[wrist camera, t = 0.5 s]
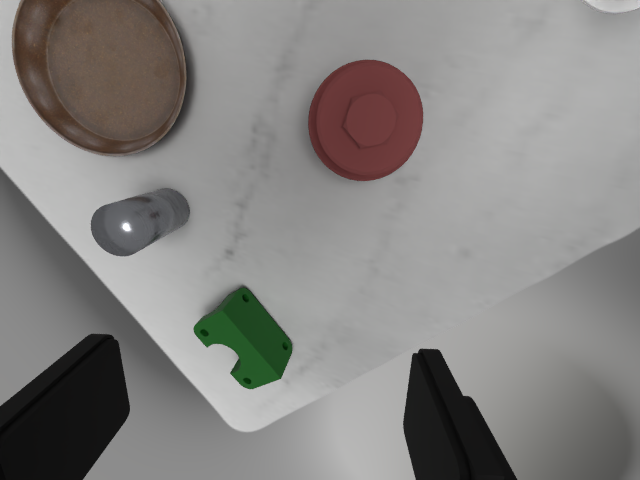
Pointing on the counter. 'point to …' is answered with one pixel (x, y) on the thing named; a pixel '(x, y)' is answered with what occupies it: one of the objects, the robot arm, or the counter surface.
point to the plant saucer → (101, 70)
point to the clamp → (247, 338)
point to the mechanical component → (365, 120)
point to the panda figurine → (613, 5)
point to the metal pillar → (138, 221)
